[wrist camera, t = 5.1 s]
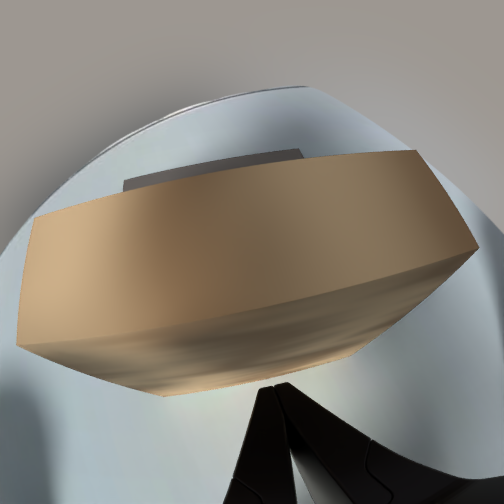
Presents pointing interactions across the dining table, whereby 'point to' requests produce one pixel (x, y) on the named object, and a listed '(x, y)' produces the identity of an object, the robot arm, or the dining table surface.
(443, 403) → the dining table surface
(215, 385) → the oak block
